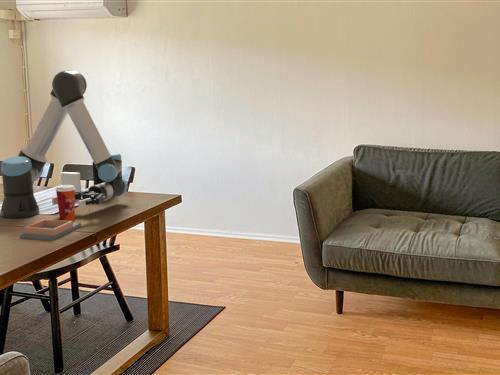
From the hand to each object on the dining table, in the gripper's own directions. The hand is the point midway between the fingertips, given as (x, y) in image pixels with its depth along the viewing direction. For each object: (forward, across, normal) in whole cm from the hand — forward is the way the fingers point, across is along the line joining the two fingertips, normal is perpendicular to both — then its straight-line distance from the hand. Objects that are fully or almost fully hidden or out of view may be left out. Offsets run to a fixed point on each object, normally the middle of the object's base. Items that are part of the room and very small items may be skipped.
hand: (65, 202), depth 245 cm
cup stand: (+15, -6, -7) cm, 18 cm away
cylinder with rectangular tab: (-34, +27, -8) cm, 44 cm away
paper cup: (-1, 0, -8) cm, 8 cm away
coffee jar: (-48, +18, -8) cm, 52 cm away
